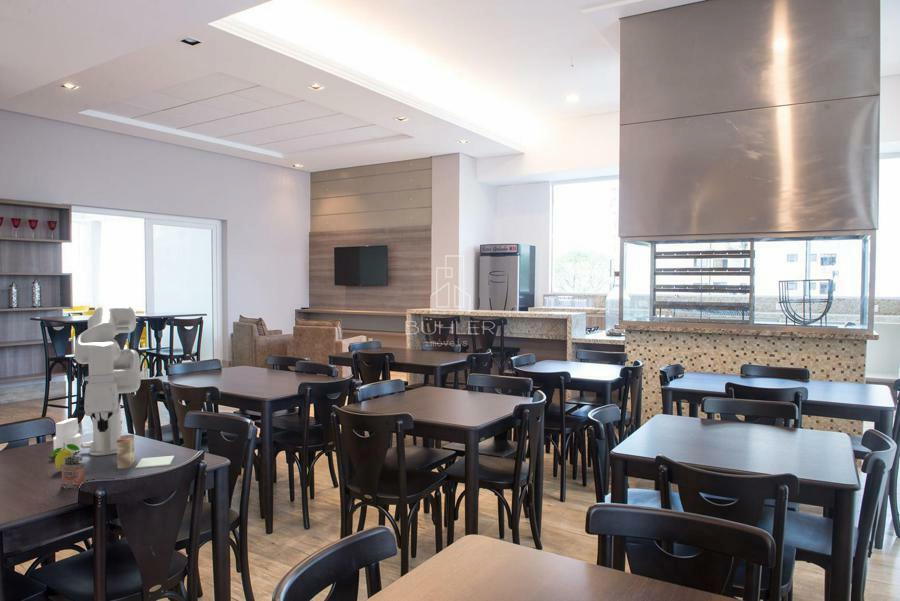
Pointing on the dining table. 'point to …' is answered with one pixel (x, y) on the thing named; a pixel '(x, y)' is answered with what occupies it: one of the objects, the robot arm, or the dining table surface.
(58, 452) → the lemon
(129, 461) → the maple block
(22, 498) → the dining table surface
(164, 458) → the pale green square plate
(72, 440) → the cylinder with rectangular tab
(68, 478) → the small potted plant
